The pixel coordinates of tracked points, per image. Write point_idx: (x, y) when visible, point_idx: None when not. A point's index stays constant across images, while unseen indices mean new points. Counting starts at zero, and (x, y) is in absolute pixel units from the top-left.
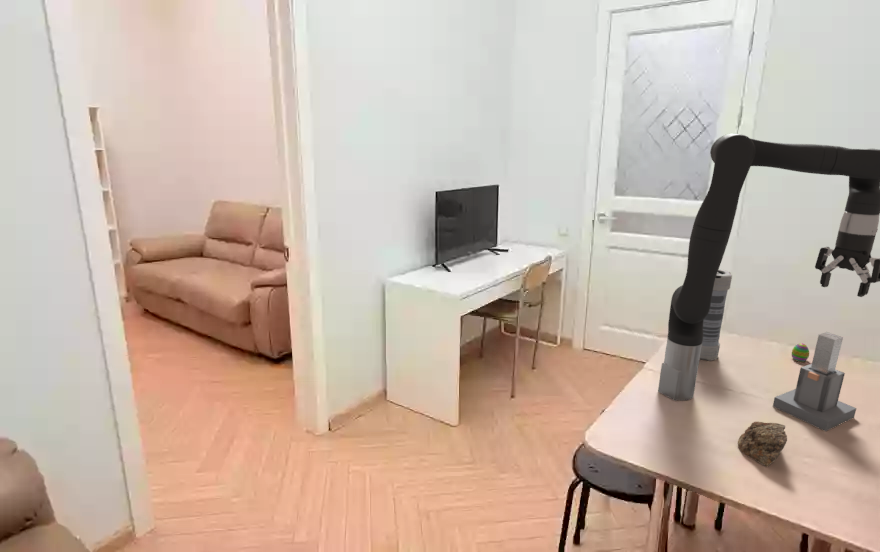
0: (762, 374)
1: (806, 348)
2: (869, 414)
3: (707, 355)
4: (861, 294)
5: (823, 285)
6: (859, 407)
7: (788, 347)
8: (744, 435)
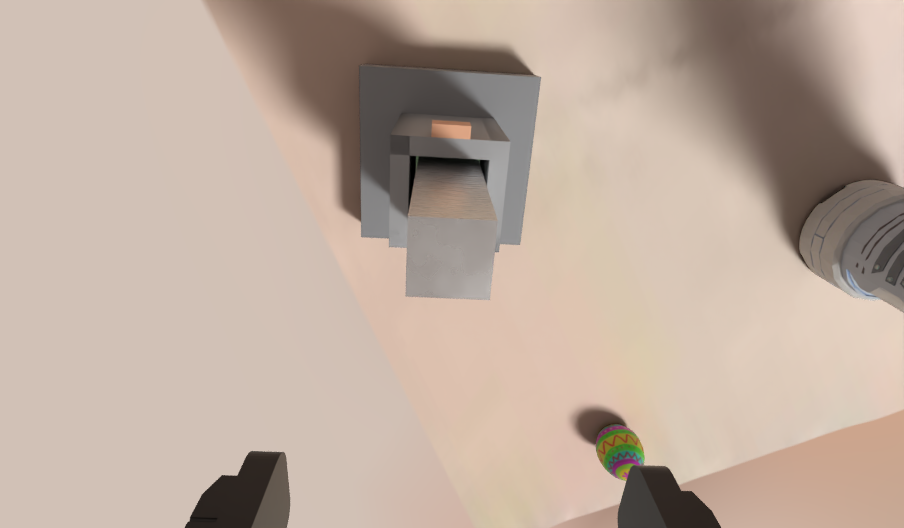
0: (647, 264)
1: (613, 466)
2: (355, 281)
3: (835, 206)
4: (245, 480)
5: (649, 475)
6: (388, 298)
7: None
8: None
